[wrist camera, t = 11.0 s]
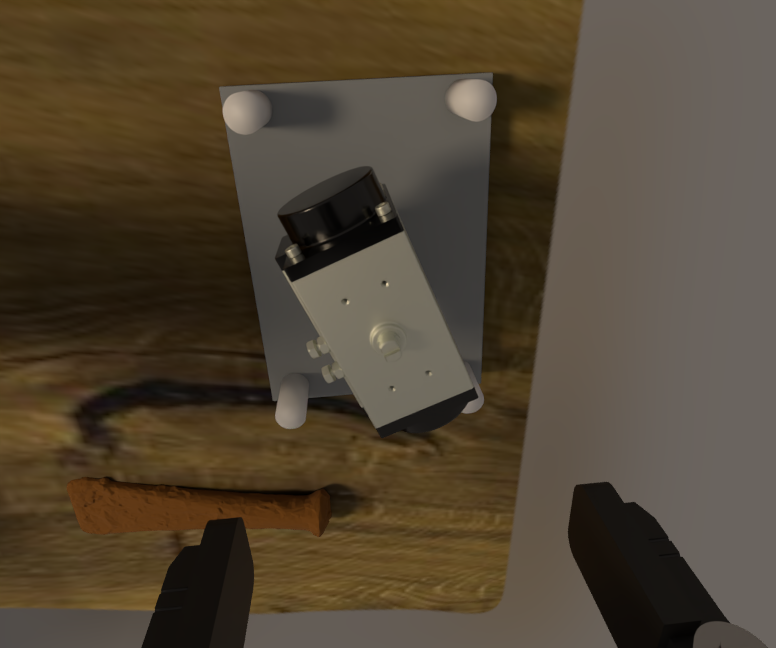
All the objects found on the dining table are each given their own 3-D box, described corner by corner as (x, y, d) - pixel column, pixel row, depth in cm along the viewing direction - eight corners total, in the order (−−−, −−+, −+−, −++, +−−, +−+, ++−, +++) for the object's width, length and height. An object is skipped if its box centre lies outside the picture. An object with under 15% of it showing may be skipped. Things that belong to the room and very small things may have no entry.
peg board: (475, 371, 37) (494, 413, 32) (275, 388, 36) (266, 433, 31) (485, 72, 28) (512, 72, 24) (224, 86, 28) (202, 89, 23)
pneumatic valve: (366, 141, 28) (383, 185, 17) (445, 318, 33) (496, 438, 22) (275, 185, 29) (236, 254, 18) (366, 352, 34) (378, 485, 23)
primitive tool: (84, 528, 41) (63, 566, 37) (66, 473, 38) (41, 509, 35) (332, 512, 42) (331, 547, 39) (328, 458, 40) (328, 491, 37)
